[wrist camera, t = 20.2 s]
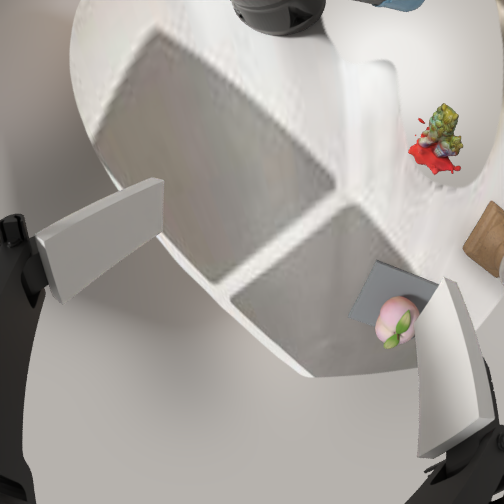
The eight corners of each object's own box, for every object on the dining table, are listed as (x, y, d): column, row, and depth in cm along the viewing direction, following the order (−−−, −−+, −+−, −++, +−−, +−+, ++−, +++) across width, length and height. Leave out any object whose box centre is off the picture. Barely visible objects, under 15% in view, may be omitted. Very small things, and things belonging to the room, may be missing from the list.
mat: (348, 314, 53) (348, 317, 52) (376, 259, 45) (376, 262, 45) (411, 336, 49) (411, 339, 49) (445, 287, 42) (446, 289, 41)
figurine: (423, 127, 35) (460, 90, 24) (449, 180, 34) (495, 153, 22) (390, 131, 35) (426, 88, 23) (418, 189, 34) (466, 159, 22)
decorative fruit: (408, 324, 48) (411, 360, 39) (372, 318, 50) (370, 355, 42) (422, 287, 43) (431, 322, 35) (383, 280, 46) (385, 315, 38)
